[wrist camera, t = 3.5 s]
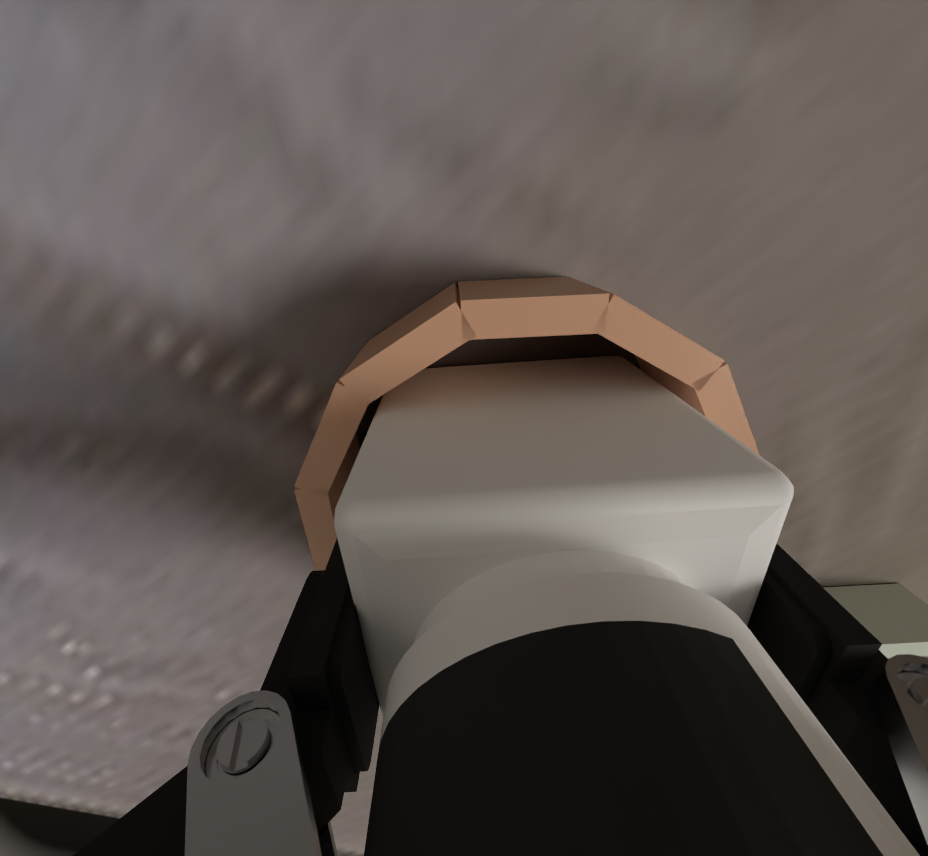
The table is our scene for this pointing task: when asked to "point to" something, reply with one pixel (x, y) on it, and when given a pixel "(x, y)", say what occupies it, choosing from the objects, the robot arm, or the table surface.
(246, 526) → the table surface
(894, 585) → the tray
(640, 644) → the medicine bottle
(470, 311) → the faceted tan ring
